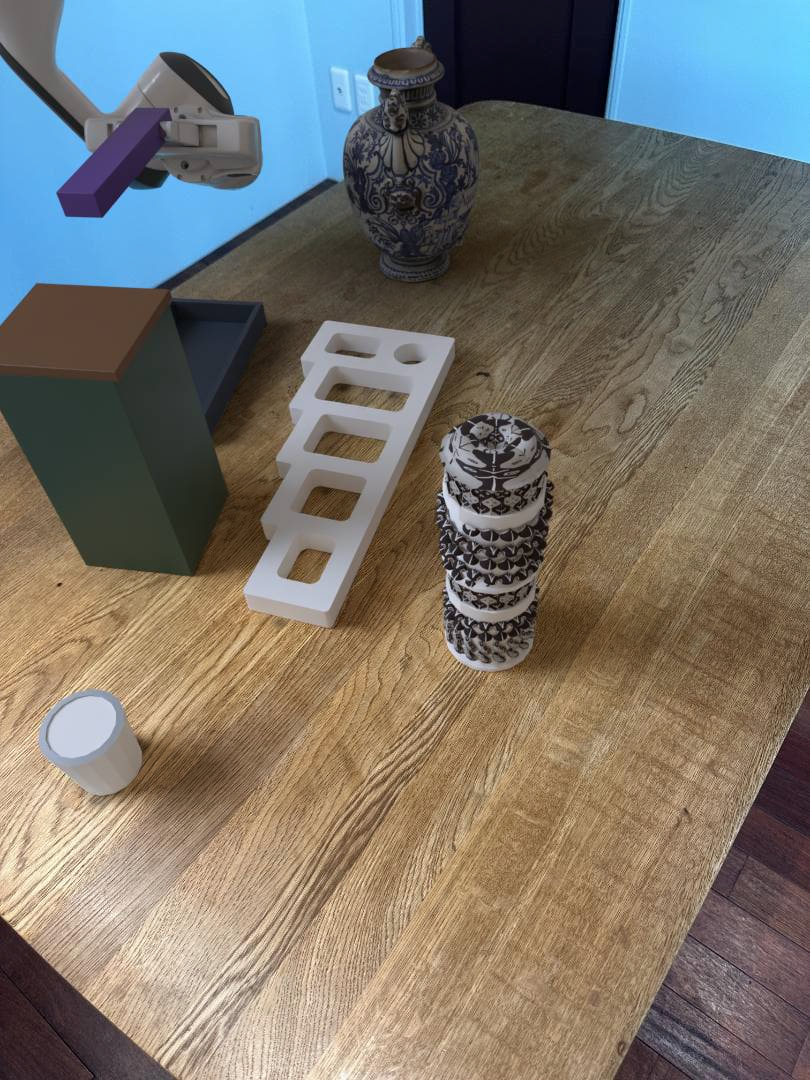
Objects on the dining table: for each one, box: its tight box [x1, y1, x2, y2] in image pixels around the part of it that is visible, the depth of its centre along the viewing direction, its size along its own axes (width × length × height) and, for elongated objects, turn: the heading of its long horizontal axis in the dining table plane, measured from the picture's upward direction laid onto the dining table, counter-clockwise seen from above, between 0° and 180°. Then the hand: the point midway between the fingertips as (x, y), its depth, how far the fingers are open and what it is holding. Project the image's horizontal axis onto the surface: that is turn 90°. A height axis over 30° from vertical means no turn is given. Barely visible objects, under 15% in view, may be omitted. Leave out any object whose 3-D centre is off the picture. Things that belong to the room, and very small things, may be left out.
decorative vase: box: [342, 35, 480, 283], centre depth 111 cm, size 21×19×28 cm
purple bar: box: [55, 108, 172, 219], centre depth 85 cm, size 4×20×2 cm, turn 170°
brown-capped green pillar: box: [0, 282, 230, 577], centre depth 79 cm, size 13×12×26 cm
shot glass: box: [37, 688, 143, 797], centre depth 68 cm, size 7×7×7 cm
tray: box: [169, 297, 268, 438], centre depth 105 cm, size 14×26×4 cm, turn 170°
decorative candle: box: [435, 411, 555, 673], centre depth 68 cm, size 9×9×25 cm
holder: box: [242, 320, 456, 629], centre depth 93 cm, size 45×18×3 cm, turn 162°
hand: (142, 129), depth 89 cm, fingers closed on purple bar, 4 cm apart
